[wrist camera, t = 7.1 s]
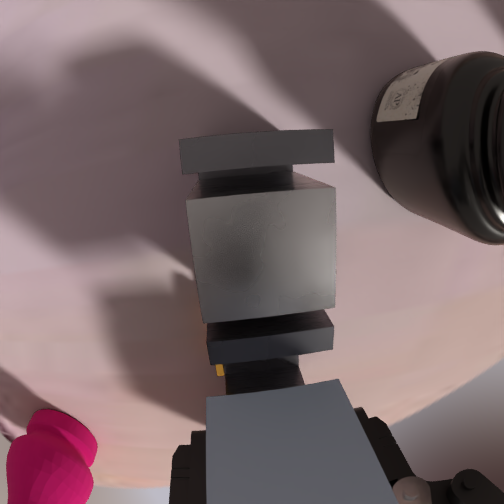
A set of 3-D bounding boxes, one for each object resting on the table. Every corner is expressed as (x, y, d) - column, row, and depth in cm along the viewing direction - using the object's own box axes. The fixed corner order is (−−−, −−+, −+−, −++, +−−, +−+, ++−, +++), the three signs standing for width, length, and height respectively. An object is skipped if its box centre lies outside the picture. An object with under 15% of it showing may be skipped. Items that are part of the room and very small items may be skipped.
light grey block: (206, 396, 11) (210, 584, 4) (338, 378, 11) (416, 541, 4) (219, 452, 12) (230, 600, 5) (331, 436, 12) (381, 571, 5)
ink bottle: (470, 70, 15) (622, 58, 3) (489, 198, 18) (630, 254, 6) (342, 74, 15) (518, 1, 3) (373, 231, 18) (533, 344, 6)
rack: (188, 143, 15) (165, 141, 9) (286, 135, 15) (332, 129, 9) (232, 438, 22) (238, 515, 15) (294, 430, 22) (314, 504, 15)
